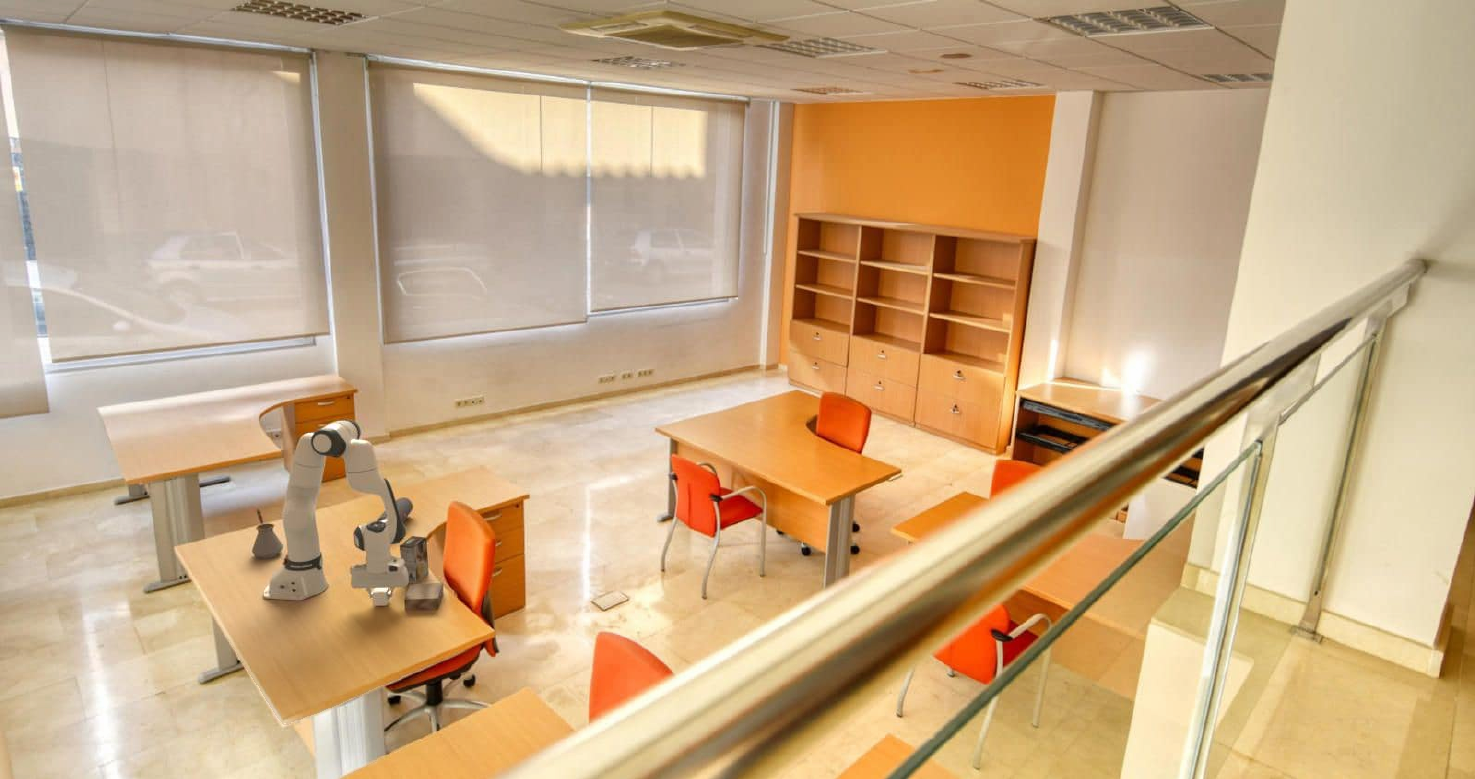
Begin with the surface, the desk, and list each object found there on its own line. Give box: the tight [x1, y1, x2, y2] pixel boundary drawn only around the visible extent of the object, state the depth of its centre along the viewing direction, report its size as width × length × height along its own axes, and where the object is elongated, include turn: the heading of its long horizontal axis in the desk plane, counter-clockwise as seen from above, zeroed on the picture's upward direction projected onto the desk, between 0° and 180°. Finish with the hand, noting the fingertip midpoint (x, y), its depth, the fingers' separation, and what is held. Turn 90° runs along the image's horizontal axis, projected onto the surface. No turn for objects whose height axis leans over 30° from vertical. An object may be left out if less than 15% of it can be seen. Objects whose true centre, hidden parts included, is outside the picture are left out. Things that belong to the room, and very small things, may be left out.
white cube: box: [371, 588, 391, 607], centre depth 330 cm, size 5×5×5 cm
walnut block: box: [403, 582, 444, 612], centre depth 333 cm, size 12×12×5 cm
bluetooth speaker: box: [376, 496, 414, 522], centre depth 394 cm, size 23×9×10 cm, turn 179°
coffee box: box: [399, 535, 429, 584], centre depth 350 cm, size 9×6×16 cm
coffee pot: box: [251, 508, 284, 560], centre depth 367 cm, size 21×12×15 cm, turn 37°
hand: (381, 597), depth 330 cm, fingers closed on white cube, 5 cm apart
